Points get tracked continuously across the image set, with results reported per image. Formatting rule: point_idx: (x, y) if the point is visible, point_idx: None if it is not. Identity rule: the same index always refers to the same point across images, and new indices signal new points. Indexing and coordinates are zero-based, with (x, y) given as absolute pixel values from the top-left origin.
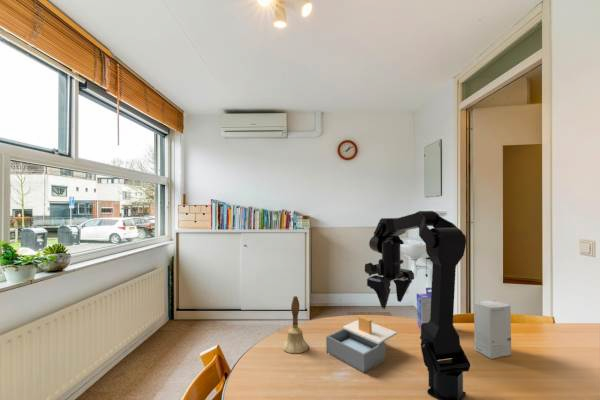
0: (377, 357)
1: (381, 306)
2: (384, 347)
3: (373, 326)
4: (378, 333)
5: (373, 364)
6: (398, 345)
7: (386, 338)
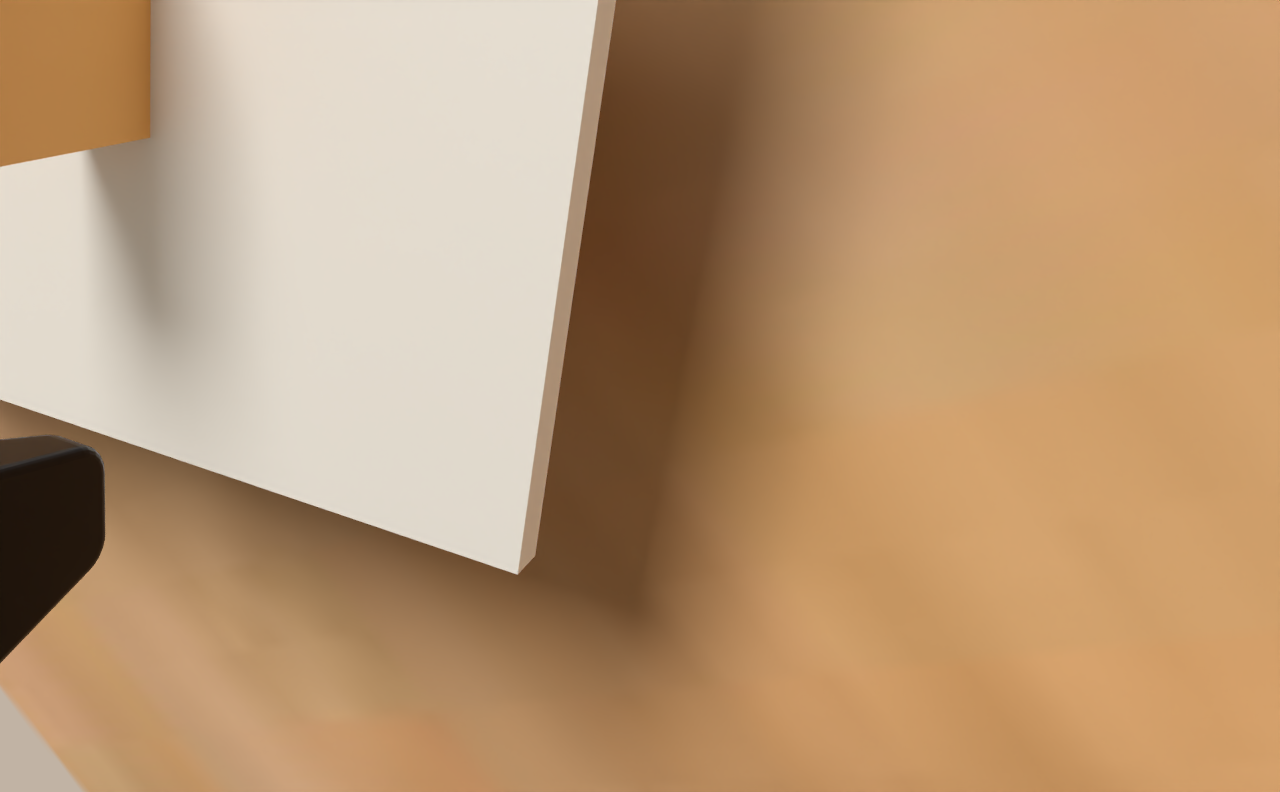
0: None
1: (3, 450)
2: None
3: (437, 23)
4: (228, 266)
5: None
6: (876, 395)
7: (183, 457)
